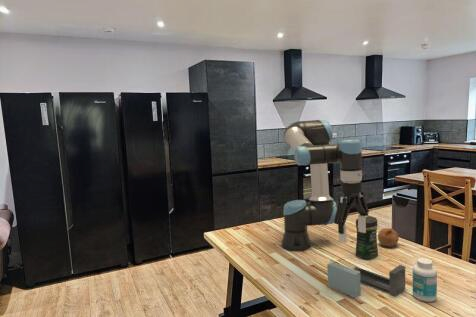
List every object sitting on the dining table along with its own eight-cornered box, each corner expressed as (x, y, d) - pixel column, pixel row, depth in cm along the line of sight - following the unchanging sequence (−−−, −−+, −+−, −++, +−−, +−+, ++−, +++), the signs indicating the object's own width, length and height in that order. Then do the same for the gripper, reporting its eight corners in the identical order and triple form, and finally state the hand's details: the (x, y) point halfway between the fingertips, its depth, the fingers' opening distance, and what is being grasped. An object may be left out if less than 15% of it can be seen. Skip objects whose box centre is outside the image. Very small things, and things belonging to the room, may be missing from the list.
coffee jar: (366, 261, 143) (366, 221, 141) (353, 255, 150) (352, 217, 148) (381, 256, 147) (380, 217, 145) (367, 250, 154) (366, 213, 152)
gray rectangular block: (327, 286, 124) (327, 264, 123) (332, 283, 126) (332, 261, 125) (355, 298, 114) (355, 274, 113) (360, 295, 116) (360, 271, 115)
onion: (391, 254, 155) (393, 240, 150) (373, 244, 162) (374, 230, 157) (401, 243, 160) (403, 228, 155) (383, 234, 166) (384, 220, 161)
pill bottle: (408, 292, 116) (407, 257, 114) (427, 290, 116) (427, 255, 115) (421, 303, 108) (421, 266, 107) (441, 301, 109) (442, 264, 108)
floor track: (345, 277, 129) (345, 257, 128) (356, 271, 134) (356, 251, 133) (395, 296, 114) (394, 273, 113) (405, 288, 119) (405, 266, 118)
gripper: (341, 188, 107) (343, 248, 109) (377, 177, 123) (378, 230, 125) (322, 185, 113) (324, 243, 115) (359, 175, 128) (360, 226, 131)
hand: (352, 236), depth 120 cm, fingers open, 13 cm apart
